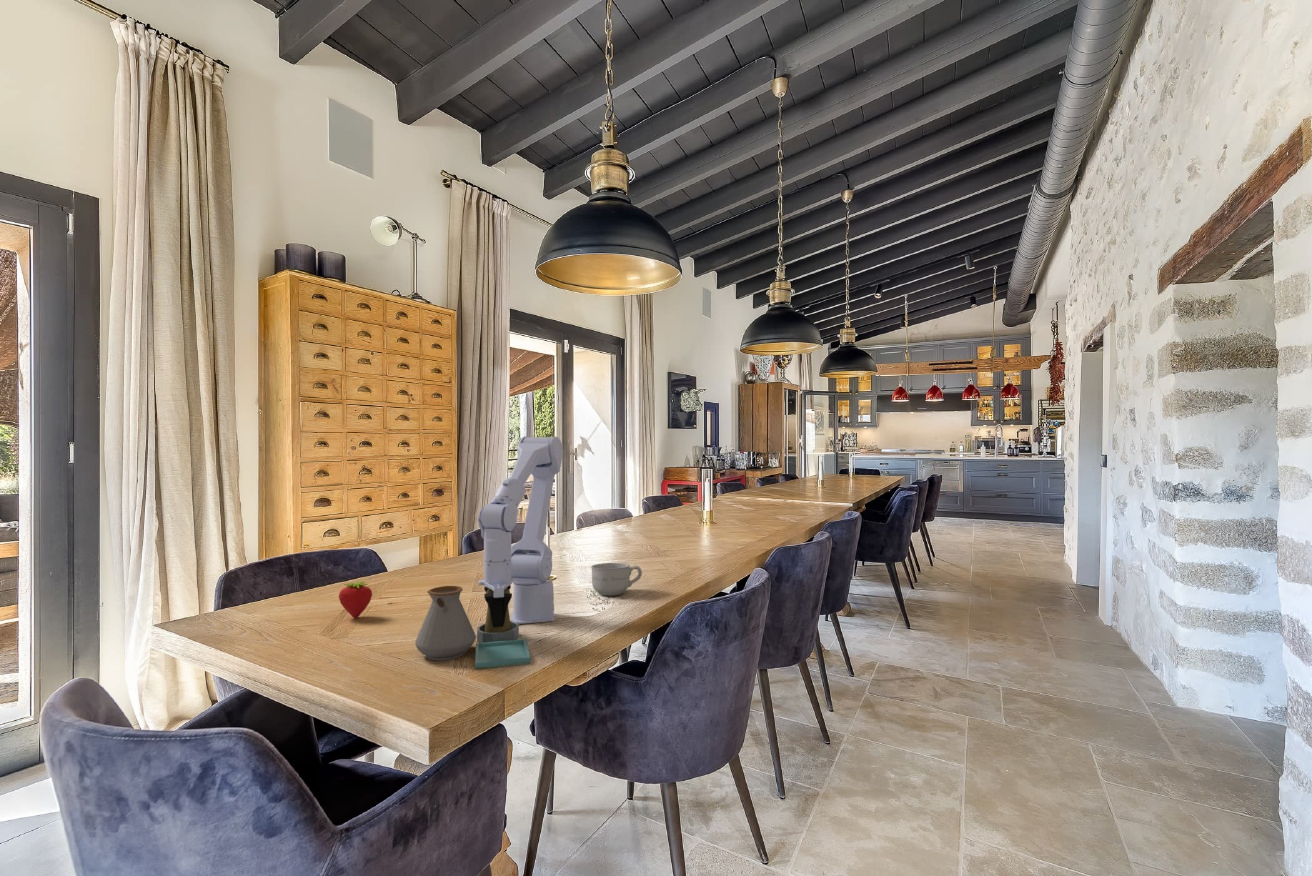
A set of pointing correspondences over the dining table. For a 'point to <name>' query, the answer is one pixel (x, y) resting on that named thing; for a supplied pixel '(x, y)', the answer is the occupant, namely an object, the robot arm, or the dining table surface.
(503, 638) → the ring
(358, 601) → the strawberry
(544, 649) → the dining table surface
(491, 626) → the cork
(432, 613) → the coffee pot
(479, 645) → the tray
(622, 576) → the teacup
